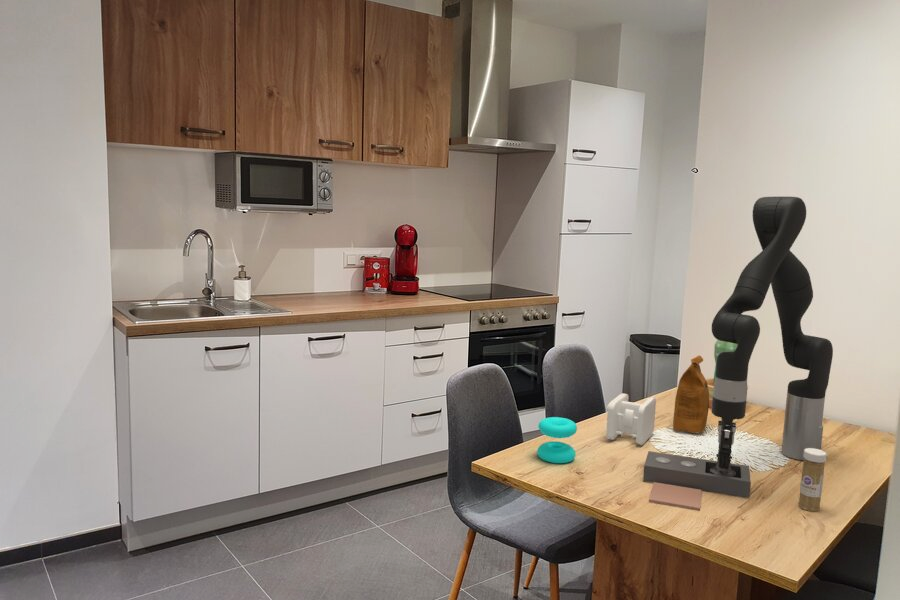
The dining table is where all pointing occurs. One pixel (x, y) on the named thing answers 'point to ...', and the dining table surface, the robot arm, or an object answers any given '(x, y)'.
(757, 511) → the dining table surface
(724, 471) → the dark chess piece
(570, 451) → the donuts
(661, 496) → the tile pad
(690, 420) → the coffee package
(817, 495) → the sprinkles bottle
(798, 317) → the robot arm
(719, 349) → the potted cactus
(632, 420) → the cable organizer
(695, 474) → the socket strip
